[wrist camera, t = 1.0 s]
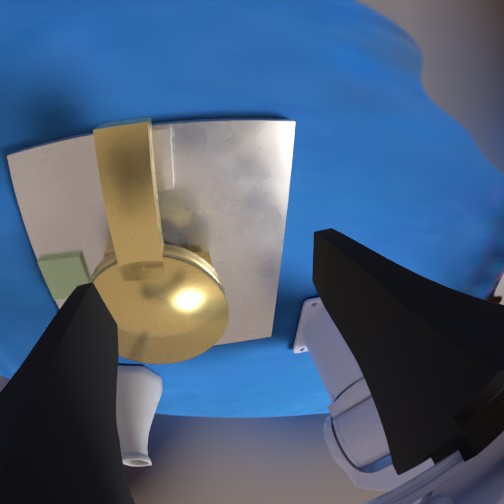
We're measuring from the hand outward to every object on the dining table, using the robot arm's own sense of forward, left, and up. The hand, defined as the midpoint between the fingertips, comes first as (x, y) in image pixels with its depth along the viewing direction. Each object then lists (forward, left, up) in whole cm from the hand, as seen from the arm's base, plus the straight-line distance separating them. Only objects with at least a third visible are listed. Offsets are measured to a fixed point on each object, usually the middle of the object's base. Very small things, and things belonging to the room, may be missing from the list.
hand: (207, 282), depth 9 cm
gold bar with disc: (+3, +3, -9) cm, 10 cm away
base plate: (+3, +6, -10) cm, 12 cm away
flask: (+9, +22, -11) cm, 26 cm away
